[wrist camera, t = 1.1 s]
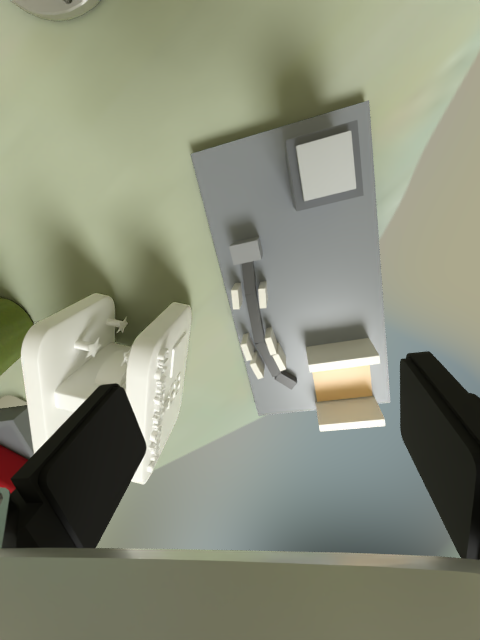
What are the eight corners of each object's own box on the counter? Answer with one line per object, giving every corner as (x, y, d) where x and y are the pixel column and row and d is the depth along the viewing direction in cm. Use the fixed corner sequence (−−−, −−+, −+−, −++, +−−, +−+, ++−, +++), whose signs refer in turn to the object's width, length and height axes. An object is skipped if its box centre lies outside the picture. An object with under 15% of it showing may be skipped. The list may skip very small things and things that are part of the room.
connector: (285, 155, 24) (285, 138, 17) (336, 140, 23) (360, 117, 16) (293, 207, 25) (297, 212, 18) (342, 195, 24) (366, 195, 18)
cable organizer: (103, 278, 32) (11, 320, 21) (200, 299, 31) (157, 353, 20) (104, 393, 38) (33, 471, 27) (186, 412, 37) (146, 500, 26)
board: (194, 155, 26) (176, 147, 22) (364, 104, 23) (383, 83, 19) (259, 408, 35) (255, 438, 31) (386, 395, 32) (402, 426, 28)
